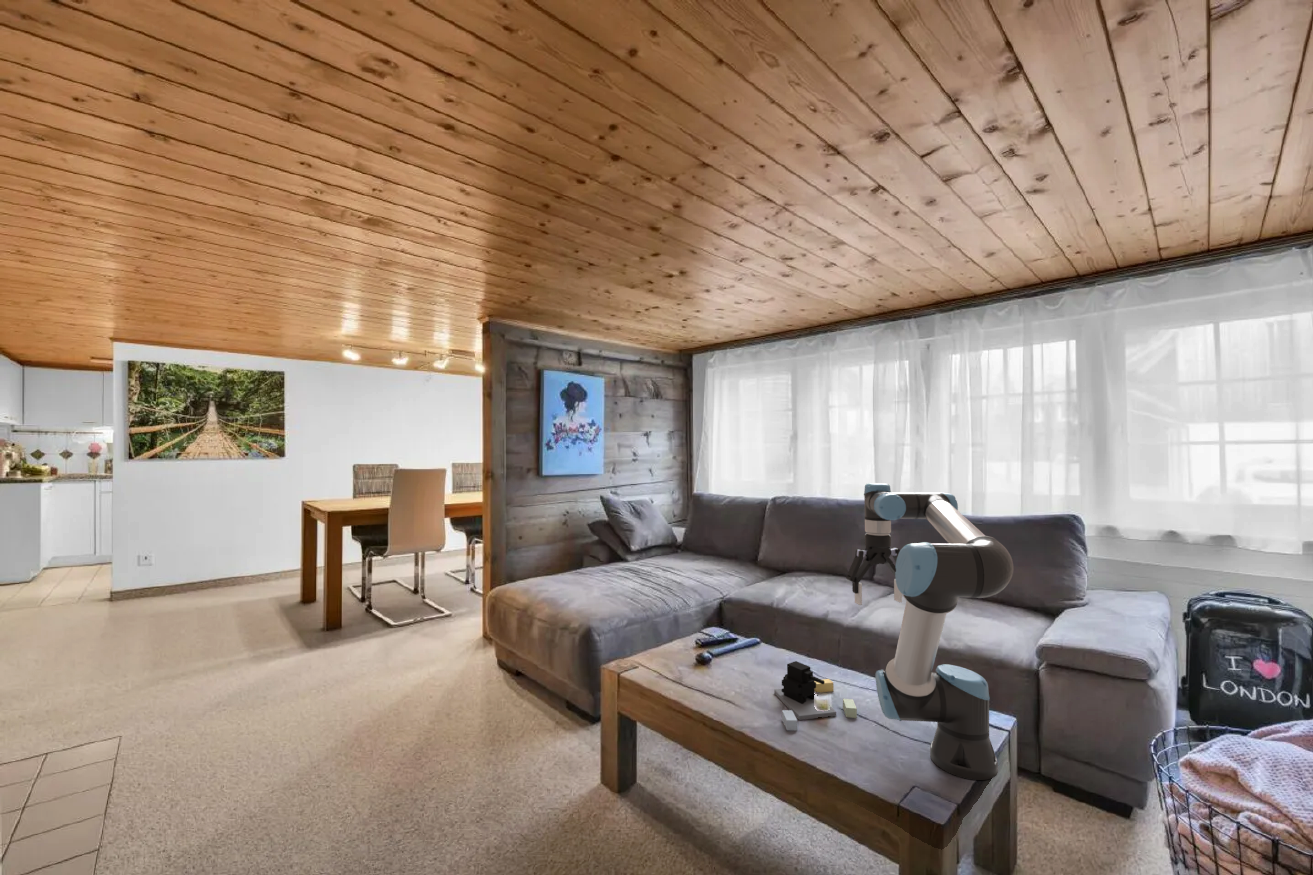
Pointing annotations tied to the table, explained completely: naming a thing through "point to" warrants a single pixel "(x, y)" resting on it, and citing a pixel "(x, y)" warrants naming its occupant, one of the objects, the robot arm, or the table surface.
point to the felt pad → (803, 707)
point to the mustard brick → (824, 686)
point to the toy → (799, 682)
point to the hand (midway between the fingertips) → (878, 602)
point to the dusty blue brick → (789, 719)
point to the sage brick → (849, 708)
